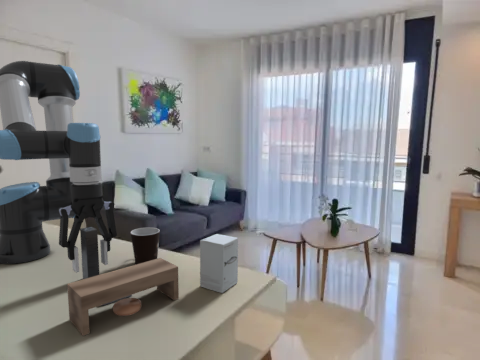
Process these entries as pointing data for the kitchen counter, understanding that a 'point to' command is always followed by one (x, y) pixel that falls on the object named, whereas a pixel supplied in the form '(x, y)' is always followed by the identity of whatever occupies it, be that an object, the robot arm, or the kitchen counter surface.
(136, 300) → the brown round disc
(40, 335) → the kitchen counter surface
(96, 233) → the dark gray angled bracket
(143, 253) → the coffee mug
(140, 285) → the bench
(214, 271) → the supplement box
